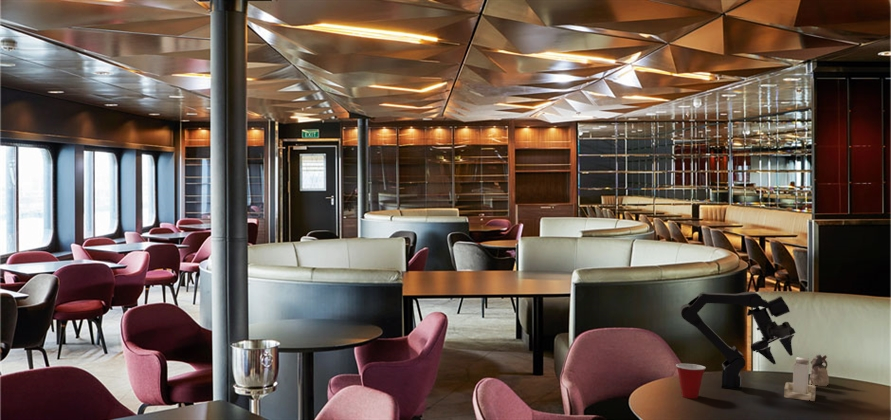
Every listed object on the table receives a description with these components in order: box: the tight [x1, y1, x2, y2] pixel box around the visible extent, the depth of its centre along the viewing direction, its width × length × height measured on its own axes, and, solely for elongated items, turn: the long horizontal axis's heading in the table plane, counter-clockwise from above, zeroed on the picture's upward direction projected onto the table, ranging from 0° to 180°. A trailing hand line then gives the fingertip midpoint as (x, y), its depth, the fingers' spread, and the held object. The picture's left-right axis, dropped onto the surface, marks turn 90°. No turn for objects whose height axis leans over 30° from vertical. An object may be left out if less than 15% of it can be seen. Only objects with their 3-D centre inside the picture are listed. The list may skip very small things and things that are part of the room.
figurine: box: [808, 353, 830, 387], centre depth 308 cm, size 7×7×12 cm
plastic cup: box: [675, 363, 706, 399], centre depth 289 cm, size 11×11×12 cm
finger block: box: [792, 362, 809, 394], centre depth 291 cm, size 4×5×11 cm
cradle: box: [783, 356, 817, 402], centre depth 296 cm, size 10×22×11 cm, turn 153°
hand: (783, 359), depth 295 cm, fingers open, 9 cm apart
